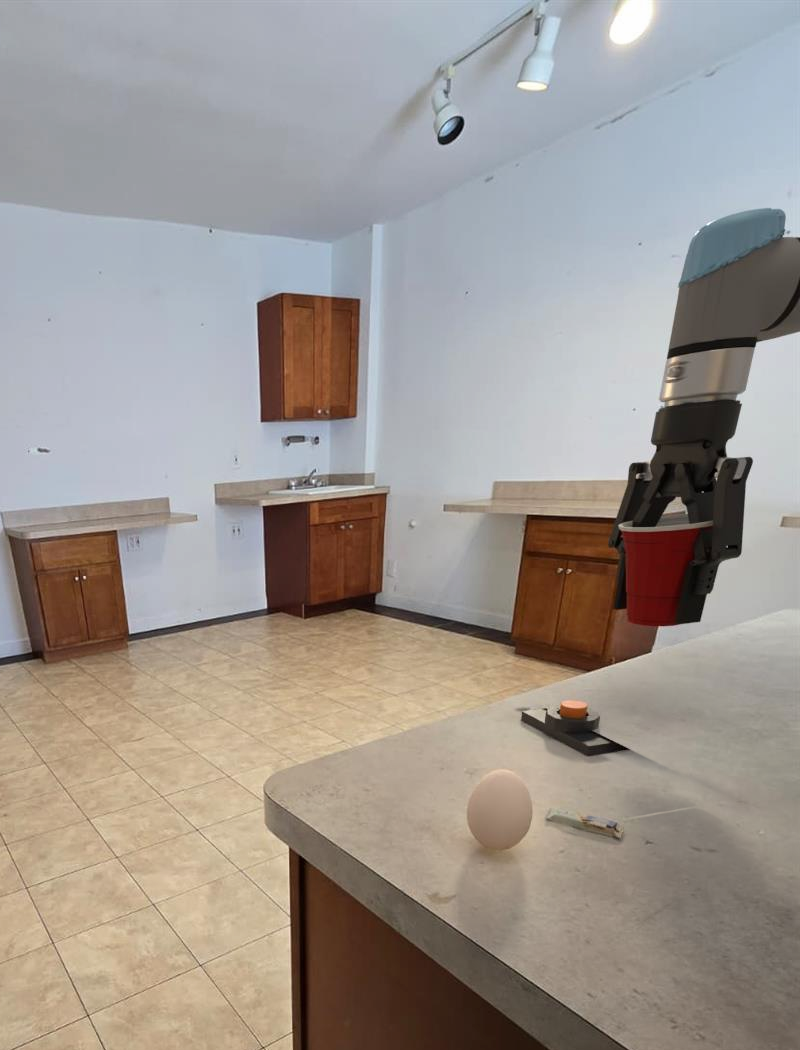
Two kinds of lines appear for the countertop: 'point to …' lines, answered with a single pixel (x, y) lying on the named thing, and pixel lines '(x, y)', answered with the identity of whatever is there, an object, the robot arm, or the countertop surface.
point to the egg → (499, 810)
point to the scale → (572, 730)
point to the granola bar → (585, 822)
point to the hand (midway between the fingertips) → (654, 614)
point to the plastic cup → (658, 567)
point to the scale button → (573, 709)
